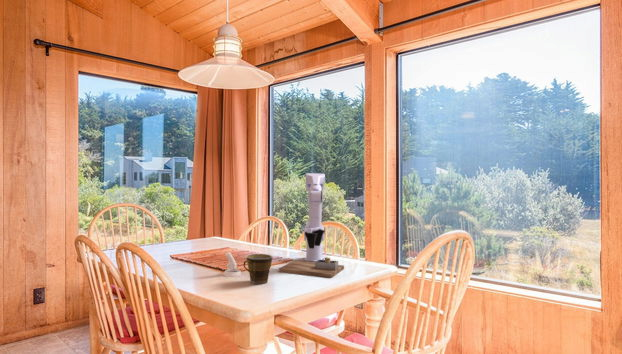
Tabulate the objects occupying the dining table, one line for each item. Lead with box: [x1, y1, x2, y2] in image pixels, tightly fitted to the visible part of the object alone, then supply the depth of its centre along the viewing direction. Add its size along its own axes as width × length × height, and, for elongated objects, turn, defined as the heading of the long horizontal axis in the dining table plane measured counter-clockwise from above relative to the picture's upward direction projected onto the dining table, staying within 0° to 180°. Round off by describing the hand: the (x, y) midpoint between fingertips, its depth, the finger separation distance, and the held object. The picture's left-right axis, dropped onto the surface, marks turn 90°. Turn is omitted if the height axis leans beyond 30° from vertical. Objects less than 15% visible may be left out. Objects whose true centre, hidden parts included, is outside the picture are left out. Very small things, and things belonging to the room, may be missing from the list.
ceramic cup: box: [243, 253, 273, 285], centre depth 155 cm, size 13×10×10 cm
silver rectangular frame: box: [315, 259, 339, 271], centre depth 176 cm, size 6×9×3 cm, turn 74°
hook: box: [223, 251, 243, 278], centre depth 166 cm, size 8×12×7 cm
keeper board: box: [278, 256, 345, 279], centre depth 178 cm, size 18×24×6 cm
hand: (314, 246), depth 183 cm, fingers open, 7 cm apart
